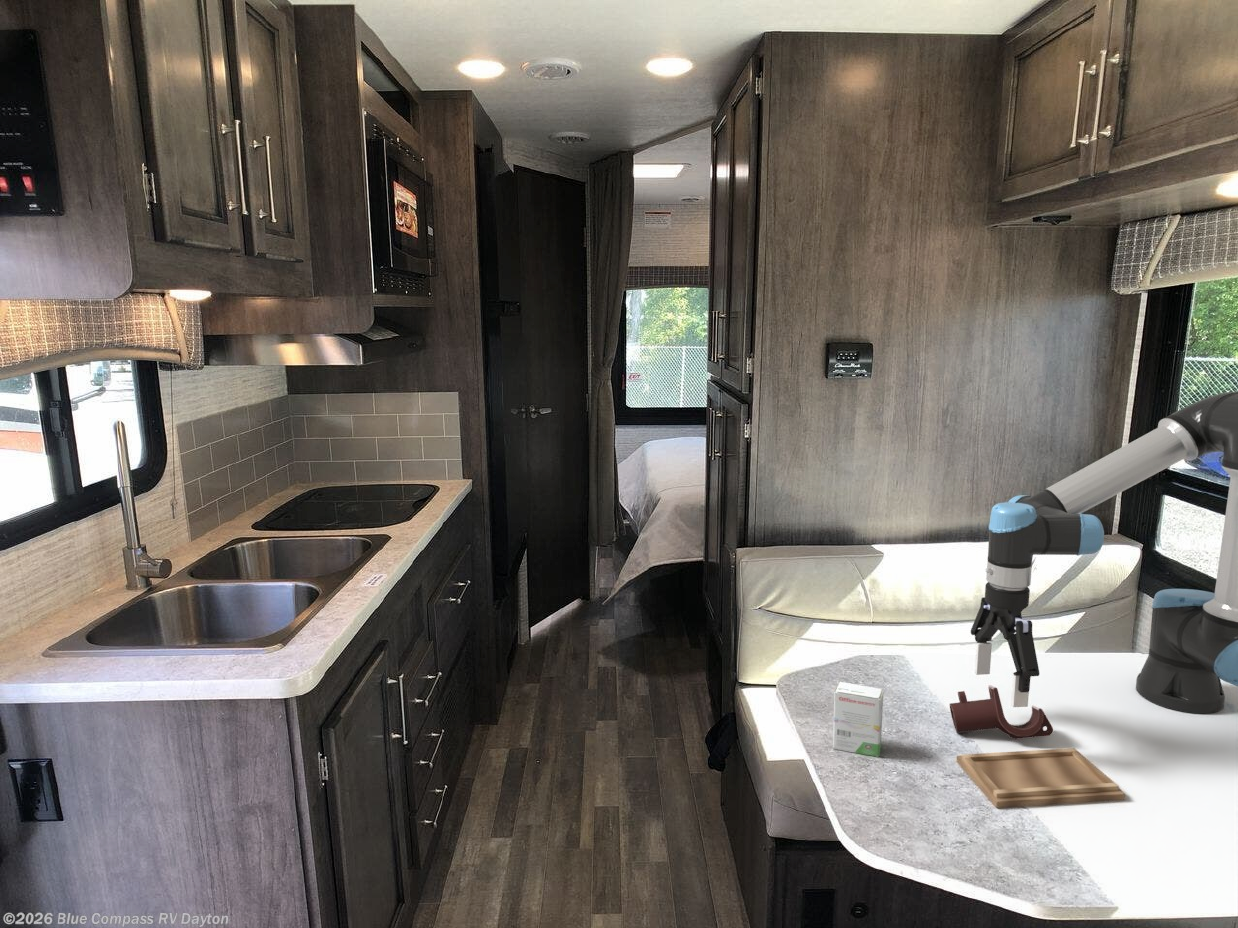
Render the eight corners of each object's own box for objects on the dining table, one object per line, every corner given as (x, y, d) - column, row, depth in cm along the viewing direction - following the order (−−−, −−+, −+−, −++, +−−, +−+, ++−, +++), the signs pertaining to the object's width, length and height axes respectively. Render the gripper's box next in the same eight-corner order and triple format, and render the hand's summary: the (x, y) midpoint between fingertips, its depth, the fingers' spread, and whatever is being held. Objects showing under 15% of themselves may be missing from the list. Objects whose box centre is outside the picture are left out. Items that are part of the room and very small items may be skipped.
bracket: (1057, 736, 145) (1043, 681, 147) (961, 746, 149) (948, 692, 152) (1049, 732, 151) (1036, 679, 153) (957, 742, 155) (945, 690, 157)
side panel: (1072, 754, 144) (1073, 744, 143) (1124, 800, 130) (1125, 789, 130) (956, 761, 143) (956, 751, 142) (996, 808, 129) (996, 797, 129)
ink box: (832, 749, 149) (833, 691, 147) (836, 735, 153) (837, 680, 151) (879, 758, 145) (880, 699, 143) (882, 744, 150) (884, 687, 148)
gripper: (956, 565, 159) (951, 662, 163) (1025, 608, 134) (1016, 722, 138) (992, 564, 159) (986, 661, 163) (1067, 607, 135) (1057, 720, 138)
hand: (999, 689), depth 151 cm, fingers open, 13 cm apart
